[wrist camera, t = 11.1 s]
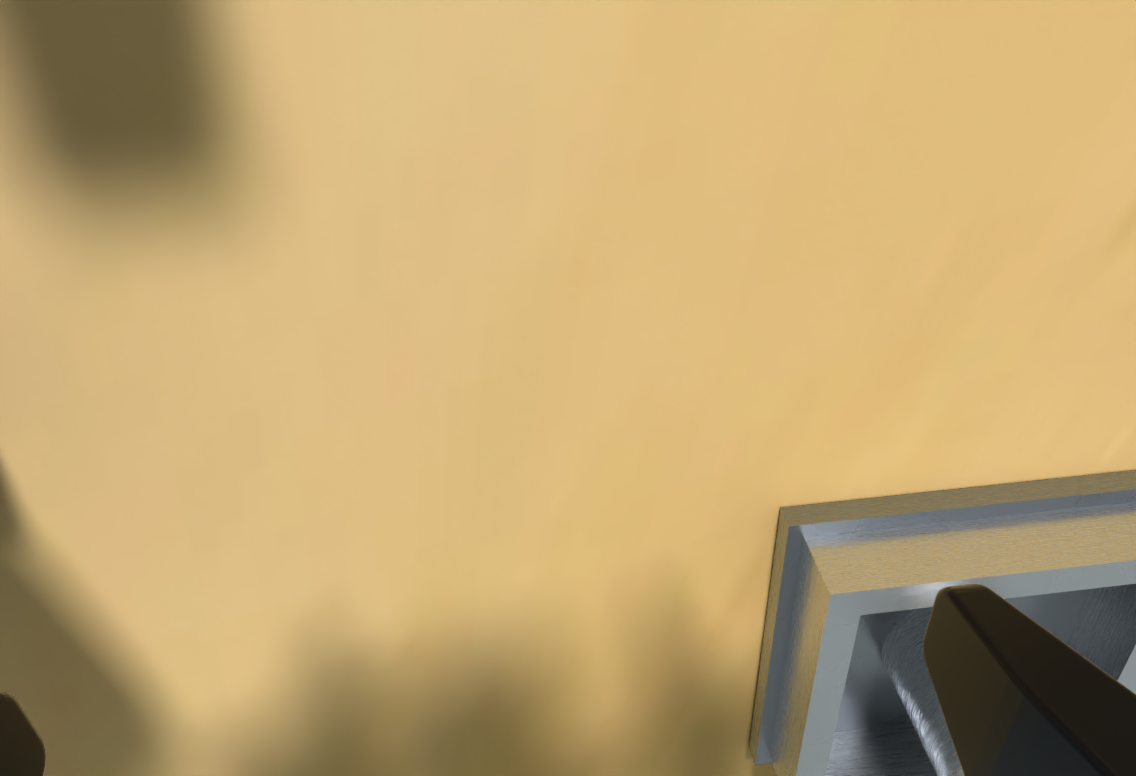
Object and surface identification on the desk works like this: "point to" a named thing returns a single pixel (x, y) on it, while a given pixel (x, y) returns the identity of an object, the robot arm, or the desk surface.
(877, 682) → the square metal tray
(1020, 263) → the desk surface
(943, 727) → the silver metal cylinder
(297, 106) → the desk surface
